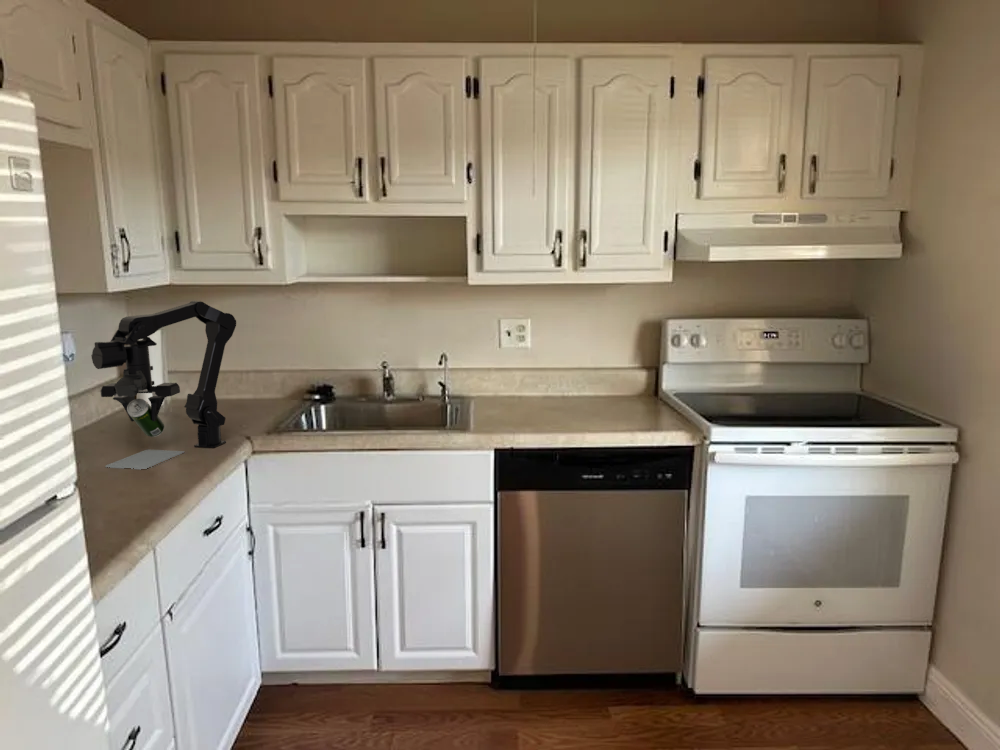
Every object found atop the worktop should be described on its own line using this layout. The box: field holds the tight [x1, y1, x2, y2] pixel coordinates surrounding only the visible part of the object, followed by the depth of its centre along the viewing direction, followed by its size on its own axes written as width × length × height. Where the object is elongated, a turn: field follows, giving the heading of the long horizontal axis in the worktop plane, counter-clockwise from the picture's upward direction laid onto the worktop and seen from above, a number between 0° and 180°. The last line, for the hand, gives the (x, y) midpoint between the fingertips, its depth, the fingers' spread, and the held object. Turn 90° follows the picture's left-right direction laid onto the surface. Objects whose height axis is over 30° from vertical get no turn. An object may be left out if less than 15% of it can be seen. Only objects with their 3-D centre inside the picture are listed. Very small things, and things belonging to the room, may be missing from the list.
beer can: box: [127, 398, 165, 438], centre depth 188 cm, size 5×5×12 cm
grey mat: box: [105, 448, 186, 470], centre depth 189 cm, size 16×12×1 cm
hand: (143, 421), depth 187 cm, fingers closed on beer can, 5 cm apart
